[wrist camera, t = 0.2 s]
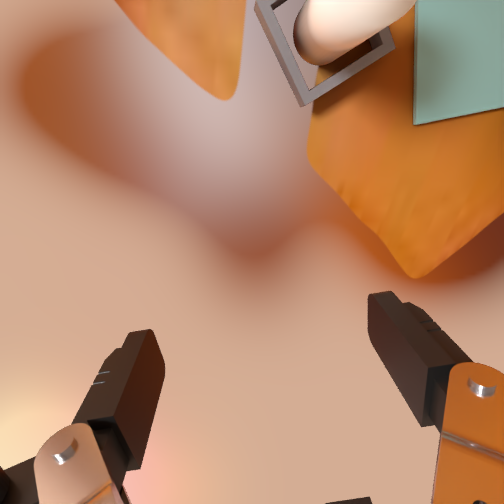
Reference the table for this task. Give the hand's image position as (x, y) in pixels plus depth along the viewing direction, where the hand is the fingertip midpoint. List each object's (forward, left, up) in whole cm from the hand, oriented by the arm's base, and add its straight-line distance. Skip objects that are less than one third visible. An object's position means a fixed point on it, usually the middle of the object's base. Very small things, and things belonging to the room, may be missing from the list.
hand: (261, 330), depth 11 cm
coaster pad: (-9, +28, -29) cm, 41 cm away
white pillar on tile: (-15, +13, -29) cm, 35 cm away
